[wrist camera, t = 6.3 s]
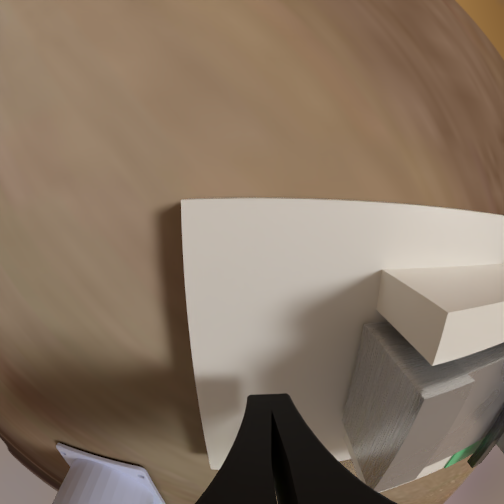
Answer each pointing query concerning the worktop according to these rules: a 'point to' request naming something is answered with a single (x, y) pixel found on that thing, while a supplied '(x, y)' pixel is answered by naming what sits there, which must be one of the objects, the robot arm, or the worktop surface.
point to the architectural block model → (329, 301)
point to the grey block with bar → (419, 407)
